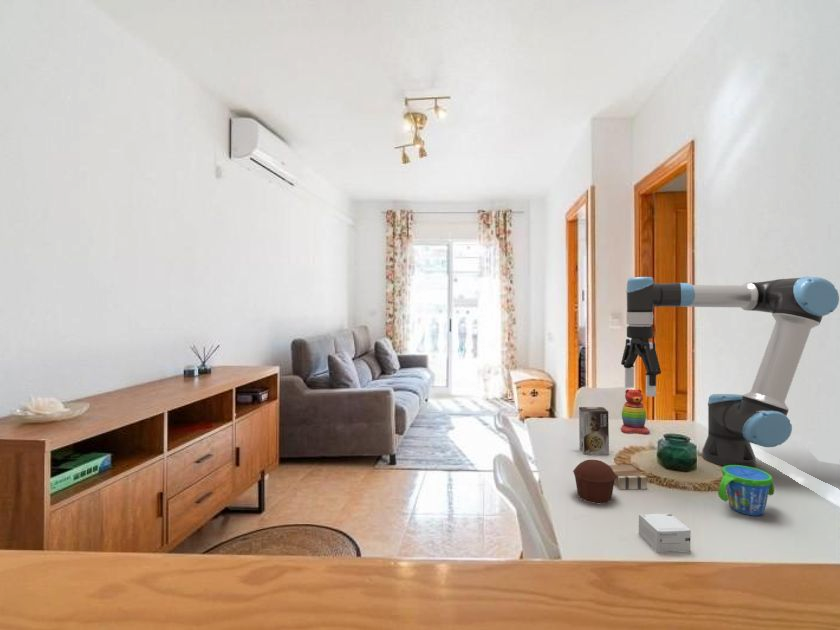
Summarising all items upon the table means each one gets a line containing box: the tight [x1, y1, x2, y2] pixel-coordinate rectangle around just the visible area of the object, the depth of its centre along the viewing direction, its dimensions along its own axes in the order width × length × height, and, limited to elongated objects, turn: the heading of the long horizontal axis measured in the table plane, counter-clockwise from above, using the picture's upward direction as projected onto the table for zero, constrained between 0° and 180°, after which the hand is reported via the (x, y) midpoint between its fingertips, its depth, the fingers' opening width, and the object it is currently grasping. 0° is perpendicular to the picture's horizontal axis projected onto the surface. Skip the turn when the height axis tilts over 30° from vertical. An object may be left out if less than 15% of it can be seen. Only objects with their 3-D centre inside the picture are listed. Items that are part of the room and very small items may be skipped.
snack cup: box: [717, 465, 775, 517], centre depth 113 cm, size 16×10×10 cm
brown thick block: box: [608, 464, 648, 490], centre depth 132 cm, size 4×8×10 cm
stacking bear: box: [620, 389, 651, 435], centre depth 184 cm, size 11×10×18 cm
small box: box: [638, 513, 692, 553], centre depth 99 cm, size 8×8×5 cm
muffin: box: [572, 459, 617, 504], centre depth 122 cm, size 12×11×10 cm
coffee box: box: [578, 406, 610, 455], centre depth 159 cm, size 9×6×16 cm
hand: (639, 391), depth 137 cm, fingers open, 13 cm apart
